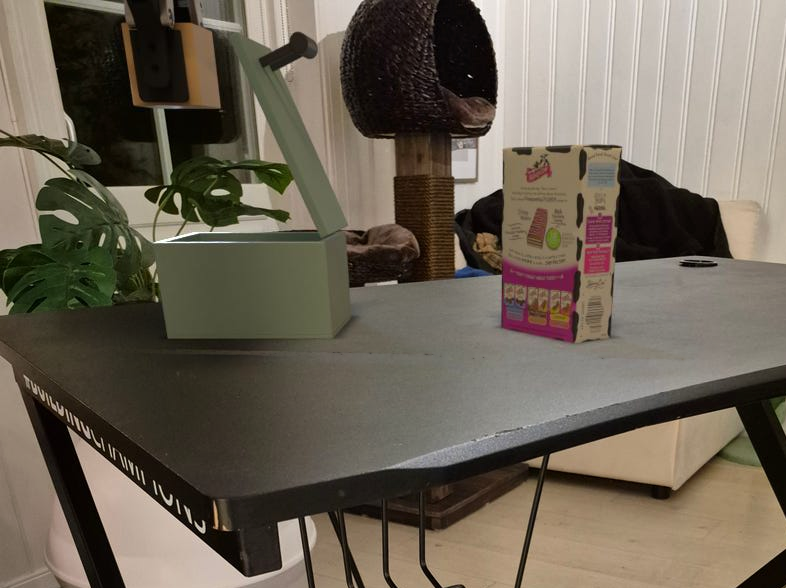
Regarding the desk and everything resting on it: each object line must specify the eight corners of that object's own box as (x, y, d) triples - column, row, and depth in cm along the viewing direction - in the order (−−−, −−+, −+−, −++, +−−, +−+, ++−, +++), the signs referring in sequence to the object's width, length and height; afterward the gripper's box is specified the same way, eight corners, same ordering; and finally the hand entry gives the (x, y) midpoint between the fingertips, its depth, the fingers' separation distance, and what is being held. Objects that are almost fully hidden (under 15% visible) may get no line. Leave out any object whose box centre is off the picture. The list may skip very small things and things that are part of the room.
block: (133, 105, 60) (120, 22, 58) (157, 108, 64) (145, 31, 62) (201, 105, 60) (191, 22, 58) (221, 108, 64) (212, 31, 62)
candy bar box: (613, 342, 85) (626, 144, 77) (574, 349, 82) (583, 144, 75) (536, 327, 93) (540, 145, 85) (498, 332, 90) (499, 145, 83)
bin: (168, 344, 85) (152, 242, 81) (206, 322, 96) (193, 232, 92) (333, 344, 85) (325, 242, 81) (351, 322, 96) (345, 231, 92)
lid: (228, 36, 74) (286, 5, 73) (263, 52, 85) (314, 25, 84) (320, 238, 81) (375, 213, 80) (341, 228, 92) (389, 206, 91)
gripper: (121, -203, 61) (164, 109, 70) (-3, -317, 46) (72, 97, 55) (231, -203, 61) (261, 109, 70) (142, -318, 46) (194, 97, 55)
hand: (177, 100), depth 62 cm, fingers closed on block, 4 cm apart
